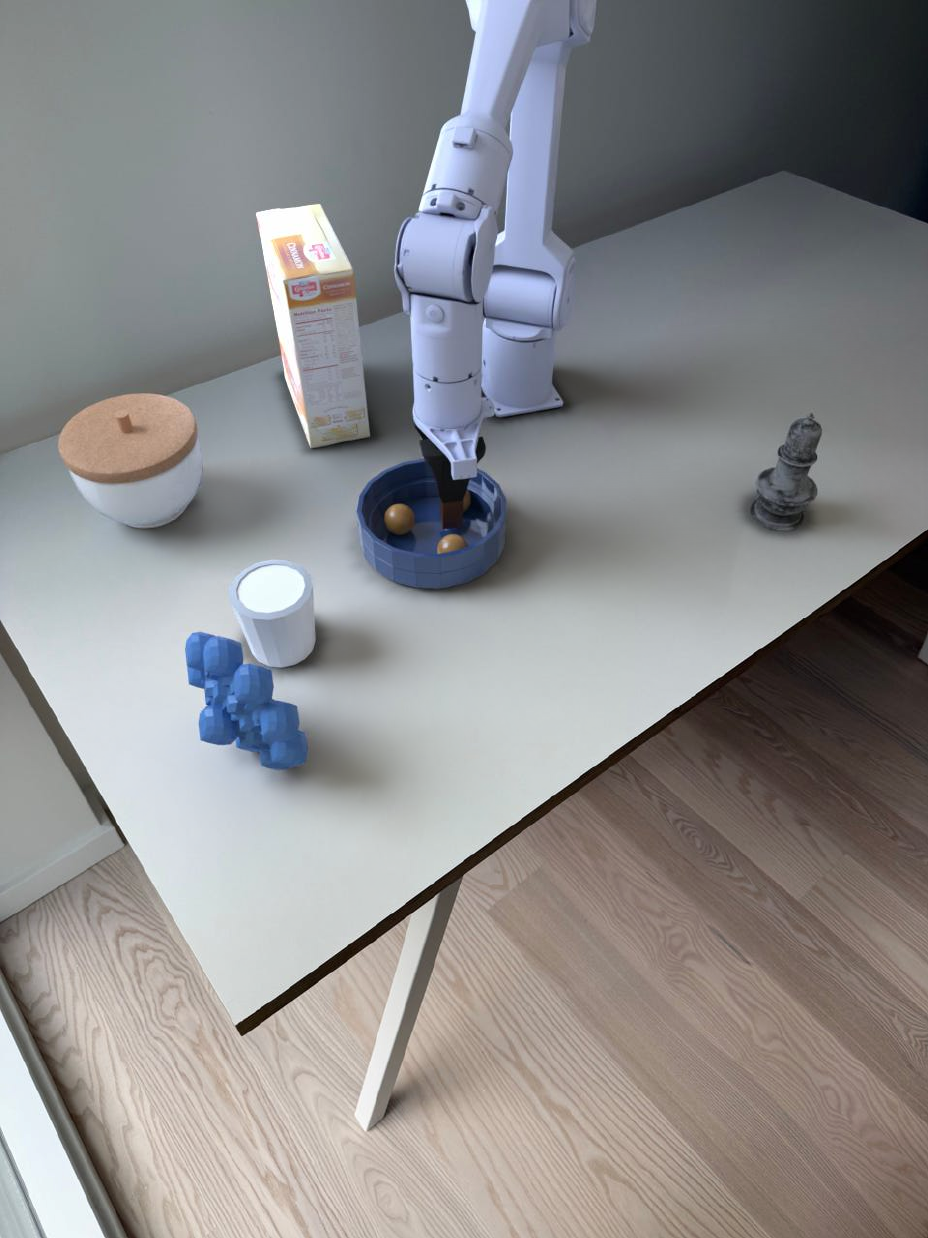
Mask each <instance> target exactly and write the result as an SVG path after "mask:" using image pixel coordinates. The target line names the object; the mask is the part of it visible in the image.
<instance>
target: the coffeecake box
mask: <svg viewBox="0 0 928 1238" xmlns="http://www.w3.org/2000/svg"><path fill="white" fill-rule="evenodd" d="M255 215H256V221H257V223H258V224H257V225H258V230H259V237H260V240H261V246H262V252H263V258H264V265H265V269H266V274H267V275H266V276H267V280H268V287H269V291H270V297H271V302H272V307H273V313H274V320H275V324H276V330H277V336H278V342H279V348H280V354H281V359H282V365H283V371H284V378H285V381H286V384H287V388H288V390H289V392H290V396H291V398H292V401H293V404H294V407H295V410H296V413H297V415H298V419H299V421H300V423H301V426H302V429H303V432H304V434H305V437H306V440H307V442H308V445H309V448H310V449H315V448H321V447H325V446H330V445H334V444H338V443H342V442H343V443H344V442H350V441H355V440H356V441H357V440H360V439H361V440H362V439H366V438H369V437H371V432H370V422H369V412H368V402H367V392H366V384H365V373H364V371H365V370H364V363H363V352H362V343H361V334H360V333H361V331H360V323H359V314H358V305H357V295H356V293H357V292H356V284H355V283H356V282H355V272H354V268H353V266H352V264H351V261H350V260H349V258H348V256H347V253H346V252H345V250H344V247H343V245H342V244H341V242H340V240H339V238H338V236H337V234H336V232H335V230H334V228H333V226H332V224H331V222H330V220H329V219H328V216H327V214H326V212H325V210H324V209H323V206H322V205H321V204H320V203H316V204H309V205H303V206H296V207H288V208H272V209H266V210H262V211H257V212H256V213H255Z"/></svg>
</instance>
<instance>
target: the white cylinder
mask: <svg viewBox="0 0 928 1238" xmlns="http://www.w3.org/2000/svg"><path fill="white" fill-rule="evenodd" d="M311 576H312V575H311V574H310V573H309V572H308V571H307V570H306V569H305V568H304V566H303V565H300V564H298V563H295V562H294V561H291V560H285V559H275V558H274V559H268V560H264V561H263V560H262V561H257V562H256V563H253V564H251V565H250V566H248V567H246V568H245V567H244V568H243V569H242V570H241V571H240V572H239V573H238V574H237V575H236V576H235V577H234V578H233V579H232V581H231V584H230V587H229V588H228V597H229V602H230V605H231V608H232V610H233V613H234V614H235V617H236V619H237V621H238V623H239V626H240V628H241V631H242V633H243V635H244V638H245V640H246V643H247V645H248V647H249V649H250V652H251V653H252V656H254V658H255V659H256V660H257V661H258V662H259V663H261V664H263V665H265V666H267V667H270V668H280V669H281V668H287V667H291V666H296V665H297V664H299V663H301V662H303V661H304V660H306V659H307V658H308V657H309V656H310V654H311V653H312V652H313V651H314V648H315V644H316V641H317V640H316V620H315V619H316V618H315V617H316V616H315V601H314V599H315V598H314V585H313V581H312V577H311Z"/></svg>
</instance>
